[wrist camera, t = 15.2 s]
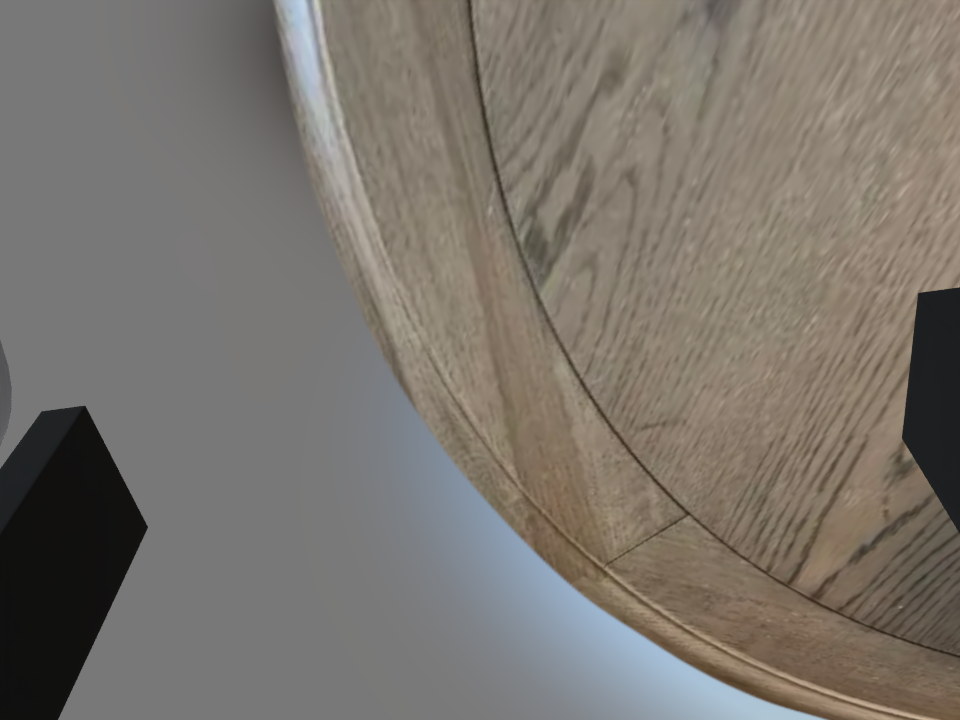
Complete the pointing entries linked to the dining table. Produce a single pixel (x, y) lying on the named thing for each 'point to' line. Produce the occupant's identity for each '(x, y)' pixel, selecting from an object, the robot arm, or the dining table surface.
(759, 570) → the dining table surface
